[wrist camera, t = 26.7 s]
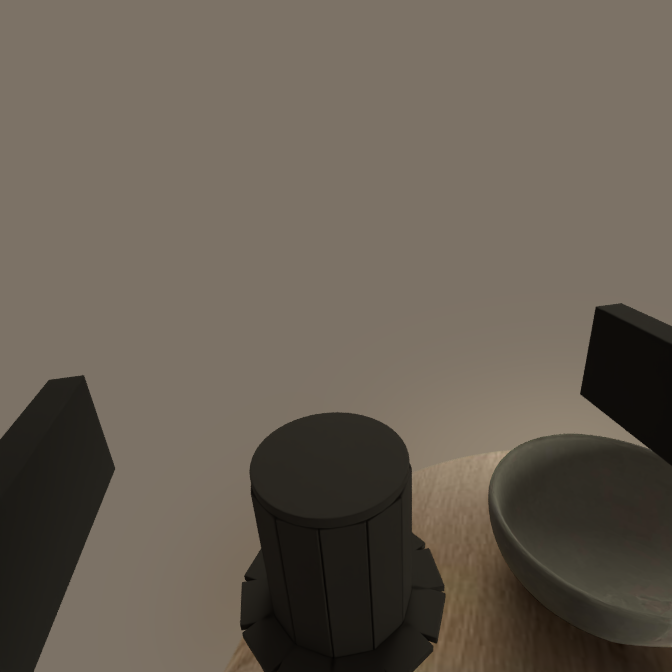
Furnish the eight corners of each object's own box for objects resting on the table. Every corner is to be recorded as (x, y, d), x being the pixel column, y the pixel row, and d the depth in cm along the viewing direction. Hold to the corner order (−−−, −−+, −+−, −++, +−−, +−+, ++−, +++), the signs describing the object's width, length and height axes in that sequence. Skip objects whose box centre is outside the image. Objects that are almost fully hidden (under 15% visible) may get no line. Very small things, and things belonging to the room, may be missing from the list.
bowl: (594, 481, 54) (609, 410, 50) (799, 648, 36) (849, 559, 32) (443, 531, 49) (446, 456, 45) (597, 754, 31) (625, 664, 27)
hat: (323, 766, 21) (299, 617, 17) (208, 582, 30) (173, 454, 26) (485, 596, 28) (499, 460, 24) (352, 488, 37) (344, 375, 33)
